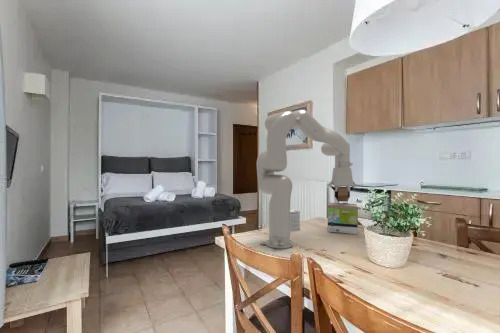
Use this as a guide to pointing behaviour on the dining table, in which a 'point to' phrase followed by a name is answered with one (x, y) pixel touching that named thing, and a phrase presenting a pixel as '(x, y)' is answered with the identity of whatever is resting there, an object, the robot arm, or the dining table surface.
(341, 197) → the walnut block
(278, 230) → the robot arm
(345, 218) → the tea box
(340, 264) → the dining table surface
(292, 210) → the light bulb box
